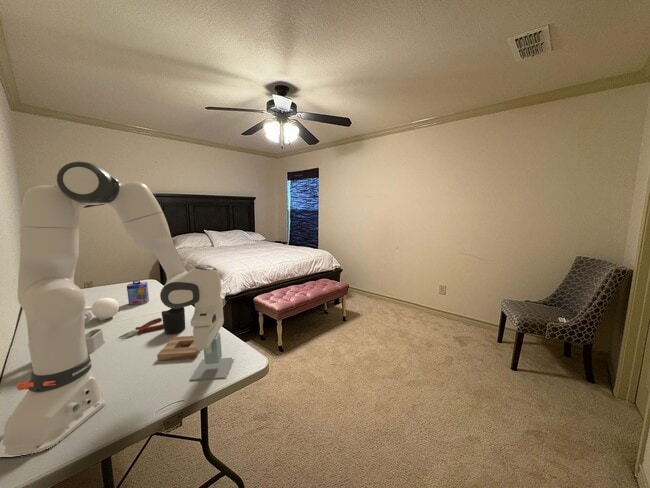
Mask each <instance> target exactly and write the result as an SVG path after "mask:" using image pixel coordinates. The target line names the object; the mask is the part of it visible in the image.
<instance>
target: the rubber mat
mask: <svg viewBox="0 0 650 488" xmlns="http://www.w3.org/2000/svg"><path fill="white" fill-rule="evenodd" d="M232 363H234V361H233V359H232V357H221V359H220V361H219V363H214V364H205V359H201V361H200V363H199V364H198V366H197V367H196V369H195V370H194V372H193V373H192V375H191V377H190V378H189V381H190V382H192V381H202V380H203V381H205V380H216V379H217V380H219V379H218V378H220V379H226V378H225V377H227V378H228V376H227V375H229V373H230V371H229V370H231V369H232V366H233V364H232ZM231 365H232V366H231ZM228 372H229V373H228Z"/></svg>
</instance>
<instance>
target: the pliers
mask: <svg viewBox="0 0 650 488" xmlns="http://www.w3.org/2000/svg"><path fill="white" fill-rule="evenodd" d="M161 322H163V319H162V318H161V317H158V318H154V319H151V320H149V321H148V322H146V323H144V324H143V325H141V326H136V327H135V329H134V330H130V331H128V332H127V333H124V334H122V335H120V336H118V339H121V340H123V339H126V338H129V337H133V336H137V335H139V334H141V335H143V334H145V333H149V332H155V331H158V330H160V331H161V330H164V326H163V323H161ZM158 323H161V324H158ZM155 324H156V325H155ZM157 324H158V325H157Z"/></svg>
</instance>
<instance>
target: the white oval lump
mask: <svg viewBox="0 0 650 488" xmlns="http://www.w3.org/2000/svg"><path fill="white" fill-rule="evenodd" d="M119 309H120V305H119V302H118V301H117V300H116V299H114V298H111V297H101V298H99V299H97V300H95V301H94V302H93V304H92V305H90V306H85V311H91V314H93V315H94V316H95V317H96V318H97V319H99V321H105V320H108V319H111V318H114V316H116V314H118V312H119Z"/></svg>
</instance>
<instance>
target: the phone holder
mask: <svg viewBox="0 0 650 488" xmlns="http://www.w3.org/2000/svg"><path fill="white" fill-rule="evenodd" d="M92 318H93V315H92V312H90V311H89V310H85V324H88V322H89V321H90V320H91V319H92ZM85 324H84V325H85ZM85 340H86V346H87V353H88V354H89V355H91V354H93V353H95V352H96V351H97V350H99V348H101V347H102V346H103V345H104V344H106V341H105V340H104V333H103V329H102V328H95V329H92V330H90V331H88V332H87V333H86V334H85Z"/></svg>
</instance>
